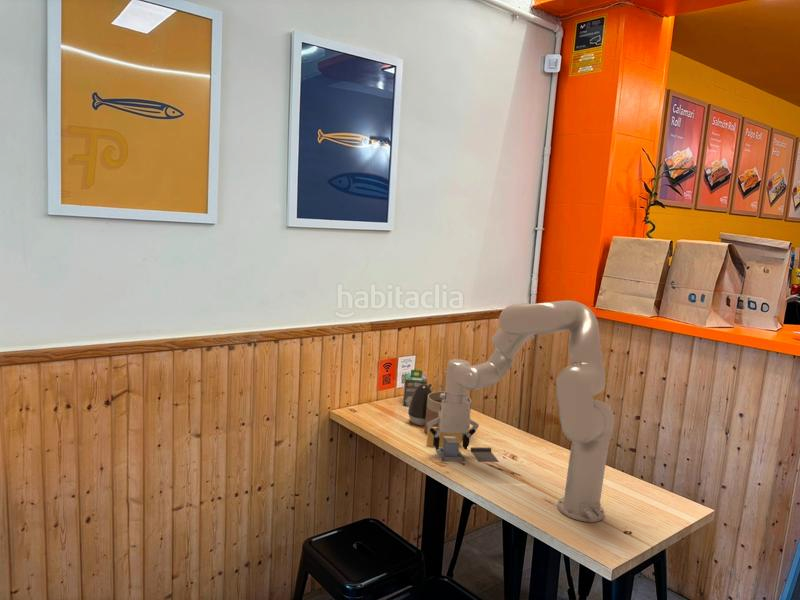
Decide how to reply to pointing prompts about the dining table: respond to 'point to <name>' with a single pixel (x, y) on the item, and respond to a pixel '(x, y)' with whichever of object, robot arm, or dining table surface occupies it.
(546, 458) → the dining table surface
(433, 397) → the planter
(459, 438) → the port
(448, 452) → the plug
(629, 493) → the dining table surface
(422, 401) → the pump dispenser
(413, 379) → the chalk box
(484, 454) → the dark grey lipped plate
